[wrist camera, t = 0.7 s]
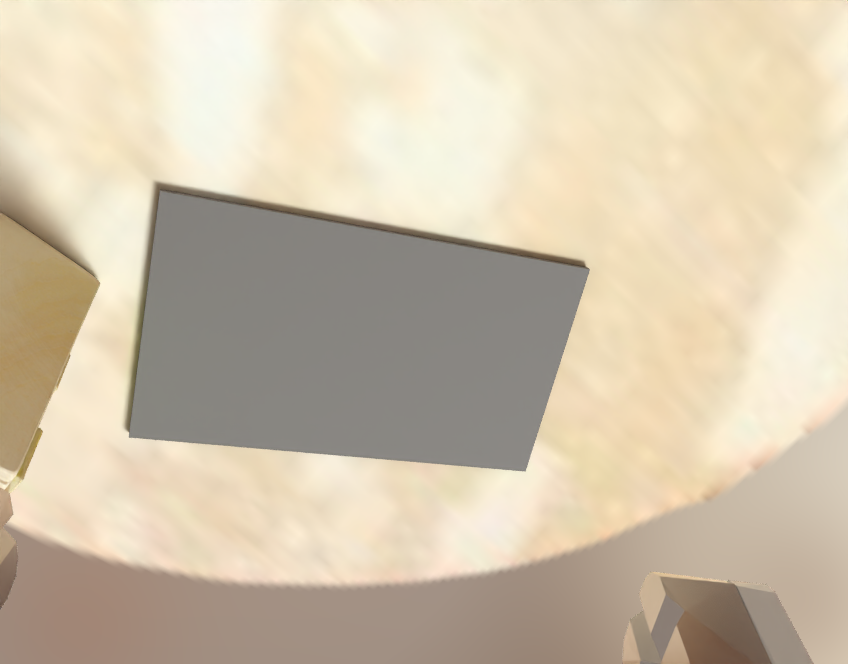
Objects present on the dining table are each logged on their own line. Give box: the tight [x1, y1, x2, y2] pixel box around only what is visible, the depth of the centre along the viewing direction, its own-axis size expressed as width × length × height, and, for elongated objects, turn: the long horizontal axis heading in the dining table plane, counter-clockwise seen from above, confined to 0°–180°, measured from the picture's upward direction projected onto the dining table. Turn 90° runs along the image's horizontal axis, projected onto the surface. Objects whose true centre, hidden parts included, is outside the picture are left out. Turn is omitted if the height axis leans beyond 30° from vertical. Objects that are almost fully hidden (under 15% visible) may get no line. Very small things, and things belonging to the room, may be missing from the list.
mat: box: [129, 189, 590, 471], centre depth 50 cm, size 28×16×1 cm, turn 76°
